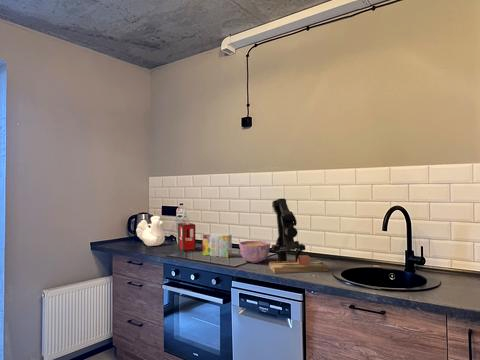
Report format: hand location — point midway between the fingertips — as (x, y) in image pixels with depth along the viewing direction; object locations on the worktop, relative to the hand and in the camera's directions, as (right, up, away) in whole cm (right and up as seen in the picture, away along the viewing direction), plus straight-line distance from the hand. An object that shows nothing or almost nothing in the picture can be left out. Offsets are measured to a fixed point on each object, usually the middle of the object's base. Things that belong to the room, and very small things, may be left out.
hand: (288, 262), depth 192 cm
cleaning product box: (-68, -6, +60) cm, 91 cm away
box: (+5, -3, -3) cm, 6 cm away
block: (+9, -1, +1) cm, 9 cm away
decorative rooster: (-102, -7, +85) cm, 133 cm away
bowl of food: (-19, -4, +18) cm, 26 cm away
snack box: (-44, -5, +37) cm, 58 cm away
